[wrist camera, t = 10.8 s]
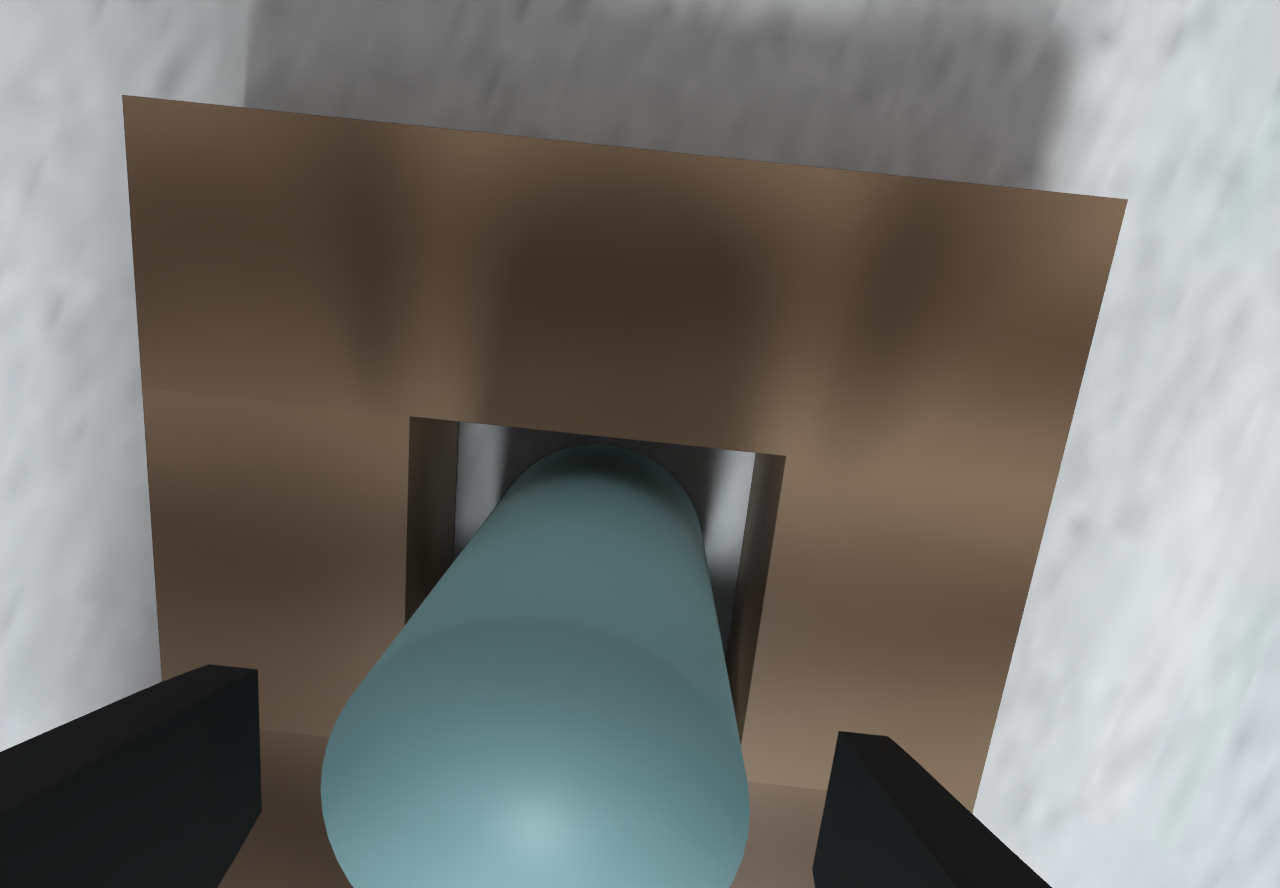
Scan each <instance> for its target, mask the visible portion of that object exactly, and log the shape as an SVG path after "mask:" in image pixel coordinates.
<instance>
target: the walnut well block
mask: <svg viewBox="0 0 1280 888" xmlns="http://www.w3.org/2000/svg"><path fill="white" fill-rule="evenodd" d="M122 100H123V114H124V129H125V144H126V159H127V173H128V188H129V203H130V218H131V232H132V247H133V262H134V276H135V291H136V306H137V321H138V335H139V350H140V365H141V379H142V394H143V409H144V424H145V438H146V453H147V468H148V483H149V497H150V512H151V527H152V541H153V556H154V571H155V586H156V600H157V615H158V630H159V644H160V659H161V674H162V682H163V681H166V680H168V679H171V678H173V677H175V676H178V675H181V674H183V673H186V672H188V671H191V670H194V669H197V668H200V667H203V666H206V665H208V664H211V665H221V666H230V667H240V668H249V669H258V692H259V727H260V762H261V797H262V812H261V813H260V815H259V817H258V819H257V820H256V822H255V824H254V826H253V827H252V829H251V831H250V833H249V835H248V836H247V838H246V840H245V842H244V843H243V845H242V847H241V849H240V850H239V852H238V854H237V856H236V858H235V859H234V861H233V863H232V864H231V866H230V868H229V869H228V871H227V872H226V874H225V876H224V877H223V879H222V881H221V882H220V884H219V886H218V887H217V888H354V887H353V886H352V885H351V883H350V882H349V881H348V879H347V877H346V875H345V873H344V872H343V870H342V868H341V866H340V864H339V863H338V861H337V859H336V856H335V854H334V851H333V848H332V846H331V843H330V841H329V838H328V835H327V830H326V826H325V822H324V818H323V812H322V800H321V777H322V765H323V761H324V756H325V752H326V748H327V743H328V740H329V738H330V735H331V733H332V730H333V728H334V725H335V723H336V720H337V718H338V717H339V715H340V713H341V712H342V710H343V708H344V707H345V705H346V703H347V702H348V700H349V698H350V697H351V696H352V694H353V693H354V692H355V690H356V689H357V688H358V686H359V685H360V684H361V682H362V681H363V680H364V679H365V677H366V676H367V675H368V673H369V672H370V671H371V669H372V668H373V667H374V665H375V664H376V663H377V661H378V660H379V659H380V658H381V656H382V655H383V654H384V652H385V651H386V650H387V648H388V647H389V646H390V644H391V643H392V642H393V641H394V639H395V638H396V637H397V635H398V634H399V633H400V631H401V630H402V629H403V627H404V626H405V625H406V624H407V622H408V621H409V620H410V618H411V617H412V616H413V614H414V613H415V612H416V610H417V609H418V608H419V607H420V605H421V604H422V603H423V601H424V600H425V599H426V597H427V596H428V595H429V593H430V592H431V591H432V590H433V588H434V587H435V586H436V584H437V583H438V582H439V580H440V579H441V578H442V576H443V575H444V574H445V572H446V571H447V570H448V569H449V567H450V566H451V565H452V563H453V550H454V526H455V502H456V477H457V453H458V429H459V421H461V422H470V423H480V424H489V425H499V426H508V427H518V428H527V429H537V430H546V431H555V432H565V433H574V434H584V435H593V436H603V437H612V438H622V439H631V440H641V441H650V442H660V443H669V444H679V445H688V446H698V447H707V448H717V449H726V450H736V451H745V452H755V453H756V456H755V463H754V470H753V477H752V483H751V490H750V497H749V504H748V511H747V518H746V525H745V531H744V538H743V545H742V552H741V559H740V566H739V573H738V579H737V586H736V593H735V600H734V607H733V614H732V621H731V628H730V634H729V641H728V648H727V655H726V662H725V663H726V668H727V674H728V679H729V684H730V690H731V695H732V701H733V706H734V712H735V717H736V722H737V728H738V733H739V739H740V744H741V750H742V755H743V760H744V766H745V771H746V777H747V782H748V788H749V802H750V819H749V831H748V838H747V842H746V846H745V850H744V854H743V858H742V861H741V863H740V866H739V868H738V871H737V873H736V876H735V878H734V880H733V882H732V884H731V885H730V887H729V888H815V884H814V878H813V872H812V867H813V862H814V857H815V852H816V846H817V841H818V836H819V831H820V826H821V820H822V815H823V810H824V805H825V800H826V794H827V789H828V784H829V779H830V773H831V768H832V763H833V758H834V753H835V747H836V742H837V737H838V732H839V731H844V732H853V733H863V734H872V735H882V736H888V737H890V738H891V739H892V740H893V741H894V742H896V743H897V744H898V745H899V746H900V747H901V748H902V749H904V750H905V751H906V752H907V753H908V754H909V755H910V756H911V757H912V758H913V759H915V760H916V761H917V762H918V763H919V764H920V765H921V766H922V767H923V768H924V769H925V770H926V771H927V772H928V773H930V774H931V775H932V776H933V777H934V778H935V779H936V780H937V781H938V782H939V783H940V784H941V785H942V786H943V787H944V788H945V789H946V790H947V791H949V792H950V793H951V794H952V795H953V796H954V797H955V798H956V799H957V800H958V801H959V802H960V803H961V804H962V805H963V806H964V807H965V808H966V809H968V810H969V811H970V812H971V813H972V812H973V808H974V804H975V800H976V796H977V793H978V789H979V785H980V781H981V777H982V773H983V769H984V765H985V761H986V757H987V753H988V749H989V745H990V741H991V737H992V733H993V729H994V725H995V722H996V718H997V714H998V710H999V706H1000V702H1001V698H1002V694H1003V690H1004V686H1005V682H1006V678H1007V674H1008V670H1009V666H1010V662H1011V658H1012V655H1013V651H1014V647H1015V643H1016V639H1017V635H1018V631H1019V627H1020V623H1021V619H1022V615H1023V611H1024V607H1025V603H1026V599H1027V595H1028V591H1029V587H1030V584H1031V580H1032V576H1033V572H1034V568H1035V564H1036V560H1037V556H1038V552H1039V548H1040V544H1041V540H1042V536H1043V532H1044V528H1045V524H1046V520H1047V516H1048V513H1049V509H1050V505H1051V501H1052V497H1053V493H1054V489H1055V485H1056V481H1057V477H1058V473H1059V469H1060V465H1061V461H1062V457H1063V453H1064V449H1065V445H1066V442H1067V438H1068V434H1069V430H1070V426H1071V422H1072V418H1073V414H1074V410H1075V406H1076V402H1077V398H1078V394H1079V390H1080V386H1081V382H1082V378H1083V374H1084V371H1085V367H1086V363H1087V359H1088V355H1089V351H1090V347H1091V343H1092V339H1093V335H1094V331H1095V327H1096V323H1097V319H1098V315H1099V311H1100V307H1101V303H1102V300H1103V296H1104V292H1105V288H1106V284H1107V280H1108V276H1109V272H1110V268H1111V264H1112V260H1113V256H1114V252H1115V248H1116V244H1117V240H1118V236H1119V232H1120V229H1121V225H1122V221H1123V217H1124V213H1125V209H1126V205H1127V201H1128V200H1127V199H1117V198H1108V197H1098V196H1089V195H1079V194H1069V193H1060V192H1050V191H1041V190H1031V189H1021V188H1012V187H1002V186H992V185H983V184H973V183H964V182H954V181H944V180H935V179H925V178H916V177H906V176H896V175H887V174H877V173H868V172H858V171H848V170H839V169H829V168H819V167H810V166H800V165H791V164H781V163H771V162H762V161H752V160H743V159H733V158H723V157H714V156H704V155H695V154H685V153H675V152H666V151H656V150H646V149H637V148H627V147H618V146H608V145H598V144H589V143H579V142H570V141H560V140H550V139H541V138H531V137H522V136H512V135H502V134H493V133H483V132H473V131H464V130H454V129H445V128H435V127H425V126H416V125H406V124H397V123H387V122H377V121H368V120H358V119H349V118H339V117H329V116H320V115H310V114H300V113H291V112H281V111H272V110H262V109H252V108H243V107H233V106H224V105H214V104H204V103H195V102H185V101H176V100H166V99H156V98H147V97H137V96H127V95H122Z"/></svg>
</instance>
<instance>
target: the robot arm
mask: <svg viewBox="0 0 1280 888" xmlns="http://www.w3.org/2000/svg"><path fill="white" fill-rule="evenodd" d="M261 812H262V797H261V762H260V727H259V692H258V669H249V668H240V667H230V666H221V665H211V664H208V665H206V666H203V667H200V668H197V669H194V670H191V671H188V672H186V673H183V674H181V675H178V676H175V677H173V678H171V679H168V680H166V681H163V682H161V683H158V684H156V685H154V686H151V687H149V688H146V689H144V690H142V691H139V692H137V693H135V694H132V695H130V696H128V697H125V698H123V699H121V700H118V701H116V702H114V703H112V704H109V705H107V706H105V707H102V708H100V709H98V710H96V711H93V712H91V713H89V714H87V715H84V716H82V717H80V718H77V719H75V720H73V721H70V722H68V723H66V724H64V725H61V726H59V727H57V728H54V729H52V730H50V731H48V732H45V733H43V734H41V735H38V736H36V737H34V738H32V739H29V740H27V741H25V742H22V743H20V744H18V745H15V746H13V747H11V748H9V749H6V750H4V751H2V752H0V888H217V887H218V886H219V884H220V882H221V881H222V879H223V877H224V876H225V874H226V872H227V871H228V869H229V868H230V866H231V864H232V863H233V861H234V859H235V858H236V856H237V854H238V852H239V850H240V849H241V847H242V845H243V843H244V842H245V840H246V838H247V836H248V835H249V833H250V831H251V829H252V827H253V826H254V824H255V822H256V820H257V819H258V817H259V815H260V813H261ZM812 872H813V878H814V884H815V888H1052V887H1051V886H1050V885H1048V884H1047V883H1046V882H1045V881H1044V880H1043V879H1042V878H1041V877H1040V876H1039V875H1037V874H1036V873H1035V872H1034V871H1033V870H1032V869H1031V868H1030V867H1029V866H1028V865H1026V864H1025V863H1024V862H1023V861H1022V860H1021V859H1020V858H1019V857H1018V856H1017V855H1016V854H1015V853H1013V852H1012V851H1011V850H1010V849H1009V848H1008V847H1007V846H1006V845H1005V844H1004V843H1003V842H1002V841H1000V840H999V839H998V838H997V837H996V836H995V835H994V834H993V833H992V832H991V831H990V830H989V829H988V828H987V827H986V826H984V825H983V824H982V823H981V822H980V821H979V820H978V819H977V818H976V817H975V816H974V815H973V814H972V813H971V812H970V811H969V810H968V809H966V808H965V807H964V806H963V805H962V804H961V803H960V802H959V801H958V800H957V799H956V798H955V797H954V796H953V795H952V794H951V793H950V792H949V791H947V790H946V789H945V788H944V787H943V786H942V785H941V784H940V783H939V782H938V781H937V780H936V779H935V778H934V777H933V776H932V775H931V774H930V773H928V772H927V771H926V770H925V769H924V768H923V767H922V766H921V765H920V764H919V763H918V762H917V761H916V760H915V759H913V758H912V757H911V756H910V755H909V754H908V753H907V752H906V751H905V750H904V749H902V748H901V747H900V746H899V745H898V744H897V743H896V742H894V741H893V740H892V739H891V738H890V737H888V736H882V735H872V734H863V733H853V732H844V731H839V732H838V737H837V742H836V747H835V753H834V758H833V763H832V768H831V773H830V779H829V784H828V789H827V794H826V800H825V805H824V810H823V815H822V820H821V826H820V831H819V836H818V841H817V846H816V852H815V857H814V862H813V867H812Z"/></svg>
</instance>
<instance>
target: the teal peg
mask: <svg viewBox="0 0 1280 888" xmlns="http://www.w3.org/2000/svg"><path fill="white" fill-rule="evenodd" d="M321 800H322V812H323V818H324V822H325V826H326V830H327V835H328V838H329V841H330V843H331V846H332V848H333V851H334V854H335V856H336V859H337V861H338V863H339V864H340V866H341V868H342V870H343V872H344V873H345V875H346V877H347V879H348V881H349V882H350V883H351V885H352V886H353V887H354V888H729V887H730V885H731V884H732V882H733V880H734V878H735V876H736V873H737V871H738V868H739V866H740V863H741V861H742V858H743V854H744V850H745V846H746V842H747V838H748V831H749V819H750V802H749V788H748V782H747V777H746V771H745V766H744V760H743V755H742V750H741V744H740V739H739V733H738V728H737V722H736V717H735V712H734V706H733V701H732V695H731V690H730V684H729V679H728V674H727V668H726V663H725V657H724V652H723V646H722V641H721V636H720V630H719V625H718V619H717V614H716V608H715V603H714V598H713V592H712V587H711V581H710V576H709V571H708V565H707V560H706V554H705V549H704V543H703V538H702V533H701V528H700V523H699V519H698V516H697V513H696V511H695V508H694V505H693V504H692V502H691V500H690V498H689V496H688V494H687V493H686V491H685V490H684V489H683V487H682V486H681V485H680V483H679V482H678V481H677V480H676V479H675V478H674V477H673V476H672V475H671V474H670V473H669V472H668V471H667V470H665V469H664V468H663V467H662V466H661V465H659V464H658V463H656V462H654V461H653V460H651V459H650V458H648V457H646V456H644V455H641V454H639V453H637V452H635V451H631V450H628V449H625V448H622V447H616V446H610V445H596V444H592V445H580V446H575V447H570V448H566V449H563V450H560V451H557V452H555V453H552V454H550V455H548V456H546V457H544V458H542V459H540V460H539V461H538V462H536V463H535V464H533V465H532V466H530V467H529V468H528V469H527V470H526V471H525V472H524V473H523V474H522V475H520V476H519V478H518V479H517V480H516V481H515V482H514V484H513V485H512V486H511V487H510V489H509V490H508V491H507V493H506V494H505V495H504V497H503V498H502V499H501V501H500V502H499V503H498V504H497V506H496V507H495V508H494V510H493V511H492V512H491V514H490V515H489V516H488V518H487V519H486V520H485V521H484V523H483V524H482V525H481V527H480V528H479V529H478V531H477V532H476V533H475V535H474V536H473V537H472V538H471V540H470V541H469V542H468V544H467V545H466V546H465V548H464V549H463V550H462V552H461V553H460V554H459V555H458V557H457V558H456V559H455V561H454V562H453V563H452V565H451V566H450V567H449V569H448V570H447V571H446V572H445V574H444V575H443V576H442V578H441V579H440V580H439V582H438V583H437V584H436V586H435V587H434V588H433V590H432V591H431V592H430V593H429V595H428V596H427V597H426V599H425V600H424V601H423V603H422V604H421V605H420V607H419V608H418V609H417V610H416V612H415V613H414V614H413V616H412V617H411V618H410V620H409V621H408V622H407V624H406V625H405V626H404V627H403V629H402V630H401V631H400V633H399V634H398V635H397V637H396V638H395V639H394V641H393V642H392V643H391V644H390V646H389V647H388V648H387V650H386V651H385V652H384V654H383V655H382V656H381V658H380V659H379V660H378V661H377V663H376V664H375V665H374V667H373V668H372V669H371V671H370V672H369V673H368V675H367V676H366V677H365V679H364V680H363V681H362V682H361V684H360V685H359V686H358V688H357V689H356V690H355V692H354V693H353V694H352V696H351V697H350V698H349V700H348V702H347V703H346V705H345V707H344V708H343V710H342V712H341V713H340V715H339V717H338V718H337V720H336V723H335V725H334V728H333V730H332V733H331V735H330V738H329V740H328V743H327V748H326V752H325V756H324V761H323V765H322V777H321Z"/></svg>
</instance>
